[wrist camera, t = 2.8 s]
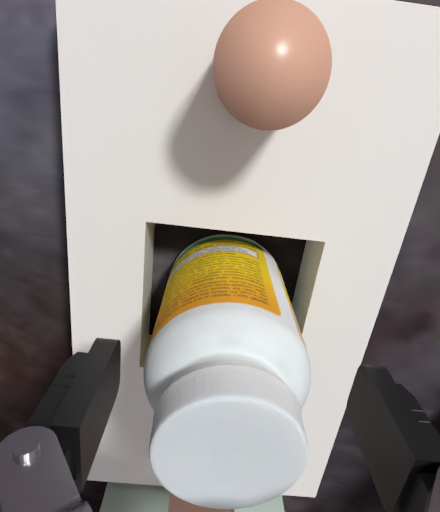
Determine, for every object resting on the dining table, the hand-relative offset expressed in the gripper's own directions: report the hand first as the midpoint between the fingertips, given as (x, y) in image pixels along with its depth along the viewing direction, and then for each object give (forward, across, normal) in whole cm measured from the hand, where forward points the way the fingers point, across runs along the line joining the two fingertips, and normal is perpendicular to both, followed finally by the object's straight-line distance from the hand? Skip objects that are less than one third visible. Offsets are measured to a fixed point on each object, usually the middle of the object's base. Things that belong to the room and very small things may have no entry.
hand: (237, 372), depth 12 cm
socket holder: (+6, 0, 0) cm, 6 cm away
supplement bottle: (+6, 0, 0) cm, 6 cm away
